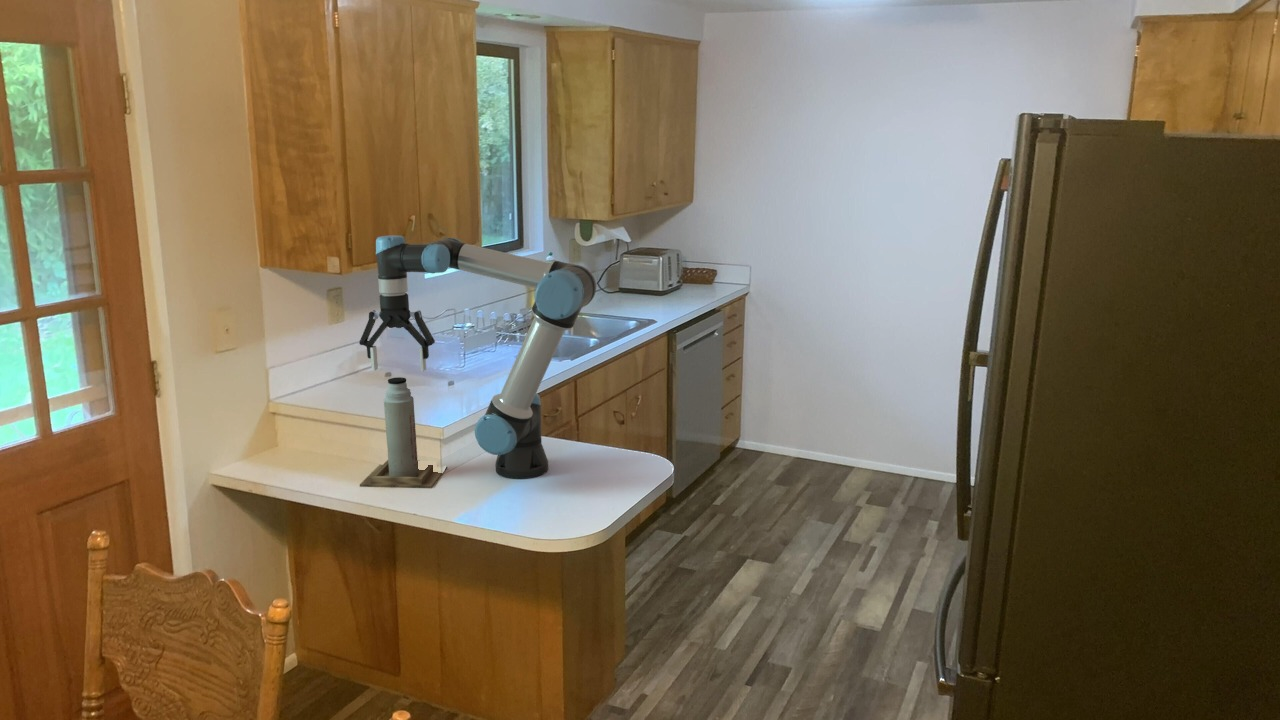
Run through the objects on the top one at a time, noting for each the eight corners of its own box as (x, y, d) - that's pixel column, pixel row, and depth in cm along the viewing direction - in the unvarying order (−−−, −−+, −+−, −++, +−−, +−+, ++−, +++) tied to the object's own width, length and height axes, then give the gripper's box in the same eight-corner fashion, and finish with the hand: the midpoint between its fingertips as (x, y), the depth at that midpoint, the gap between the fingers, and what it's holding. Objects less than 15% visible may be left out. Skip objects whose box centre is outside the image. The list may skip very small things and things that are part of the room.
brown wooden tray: (447, 468, 267) (446, 460, 267) (431, 488, 252) (430, 480, 251) (379, 466, 269) (379, 458, 268) (359, 486, 253) (359, 478, 253)
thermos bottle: (423, 470, 263) (416, 375, 257) (410, 480, 256) (404, 383, 249) (397, 469, 265) (390, 374, 258) (384, 478, 257) (377, 381, 251)
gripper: (443, 291, 251) (447, 367, 256) (353, 291, 253) (359, 366, 258) (435, 295, 244) (440, 373, 249) (343, 295, 245) (349, 373, 250)
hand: (399, 370), depth 253 cm, fingers open, 13 cm apart
